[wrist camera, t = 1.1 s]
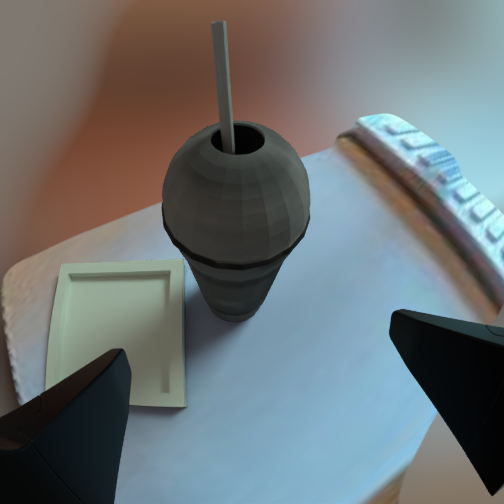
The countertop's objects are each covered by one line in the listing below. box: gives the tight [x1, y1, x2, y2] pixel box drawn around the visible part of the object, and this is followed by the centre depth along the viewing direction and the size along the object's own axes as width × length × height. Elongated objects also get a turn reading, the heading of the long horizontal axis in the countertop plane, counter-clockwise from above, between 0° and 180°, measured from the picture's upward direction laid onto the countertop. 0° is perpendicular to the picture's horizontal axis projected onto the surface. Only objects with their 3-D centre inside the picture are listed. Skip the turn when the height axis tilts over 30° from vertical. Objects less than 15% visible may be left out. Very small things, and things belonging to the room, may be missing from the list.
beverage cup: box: [162, 21, 310, 322], centre depth 16 cm, size 7×7×20 cm
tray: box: [45, 259, 187, 407], centre depth 21 cm, size 12×12×1 cm
